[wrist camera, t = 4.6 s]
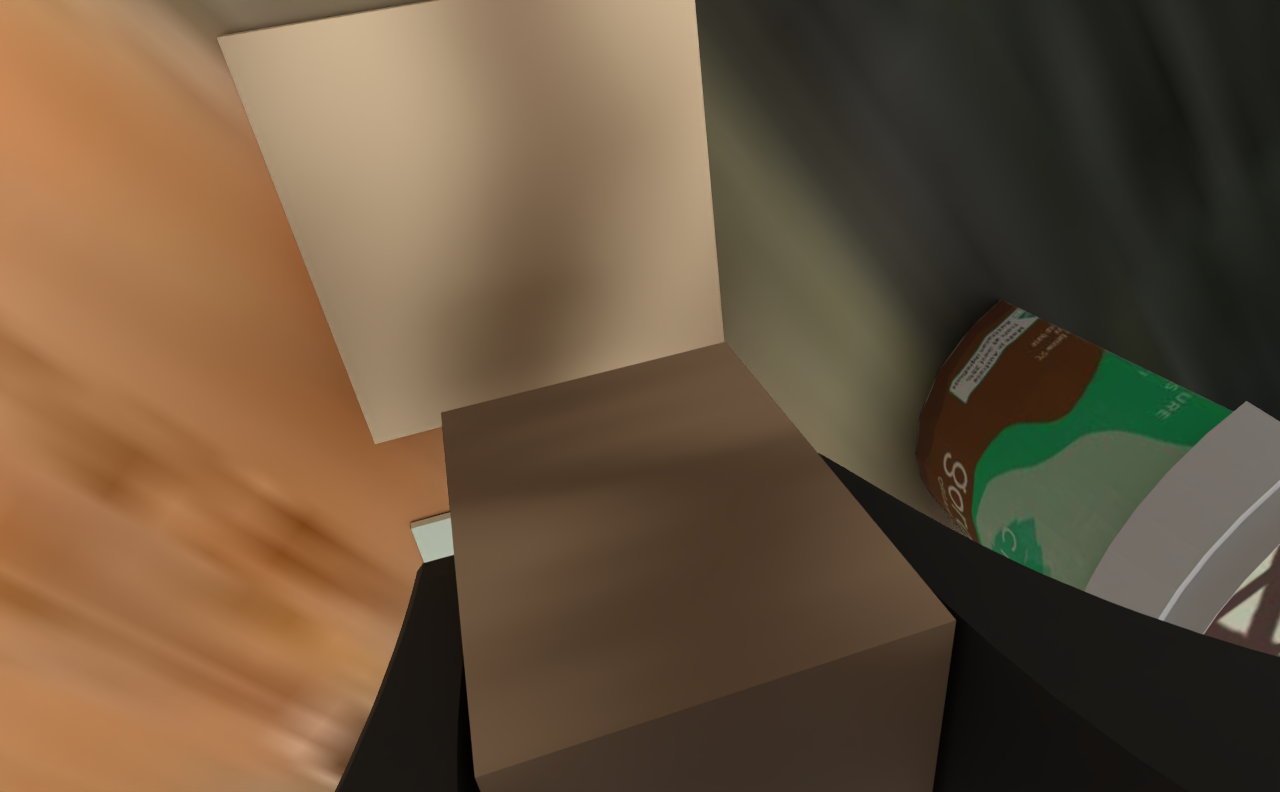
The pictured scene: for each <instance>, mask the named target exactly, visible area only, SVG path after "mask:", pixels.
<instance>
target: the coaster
mask: <svg viewBox="0 0 1280 792" xmlns="http://www.w3.org/2000/svg"><path fill="white" fill-rule="evenodd" d="M217 40H218V42H219V45H220V47H221V50H222V52H223V55H224V58H225V60H226V63H227V65H228V68H229V70H230V73H231V75H232V78H233V81H234V83H235V86H236V88H237V91H238V93H239V96H240V99H241V101H242V104H243V106H244V109H245V111H246V114H247V117H248V119H249V122H250V124H251V127H252V129H253V132H254V135H255V137H256V140H257V142H258V145H259V147H260V150H261V153H262V155H263V158H264V160H265V163H266V165H267V168H268V171H269V173H270V176H271V178H272V181H273V183H274V186H275V189H276V191H277V194H278V196H279V199H280V201H281V204H282V207H283V209H284V212H285V214H286V217H287V219H288V222H289V225H290V227H291V230H292V232H293V235H294V237H295V240H296V243H297V245H298V248H299V250H300V253H301V255H302V258H303V260H304V263H305V266H306V268H307V271H308V273H309V276H310V278H311V281H312V284H313V286H314V289H315V291H316V294H317V296H318V299H319V302H320V304H321V307H322V309H323V312H324V314H325V317H326V320H327V322H328V325H329V327H330V330H331V332H332V335H333V338H334V340H335V343H336V345H337V348H338V350H339V353H340V356H341V358H342V361H343V363H344V366H345V368H346V371H347V374H348V376H349V379H350V381H351V384H352V386H353V389H354V392H355V394H356V397H357V399H358V402H359V404H360V407H361V410H362V412H363V415H364V417H365V420H366V422H367V425H368V428H369V430H370V433H371V435H372V438H373V440H374V443H375V444H378V443H382V442H386V441H390V440H393V439H397V438H401V437H405V436H409V435H413V434H417V433H420V432H424V431H428V430H432V429H436V428H440V427H442V419H441V412H445V411H449V410H453V409H457V408H461V407H465V406H469V405H473V404H477V403H481V402H485V401H489V400H493V399H497V398H501V397H505V396H509V395H513V394H517V393H521V392H525V391H529V390H533V389H537V388H541V387H545V386H550V385H554V384H558V383H562V382H566V381H570V380H574V379H578V378H582V377H586V376H590V375H594V374H598V373H602V372H606V371H610V370H614V369H618V368H622V367H626V366H630V365H634V364H638V363H642V362H646V361H650V360H654V359H658V358H662V357H666V356H670V355H674V354H678V353H682V352H686V351H690V350H694V349H698V348H702V347H706V346H710V345H714V344H718V343H722V342H724V333H723V321H722V310H721V298H720V287H719V275H718V264H717V252H716V240H715V229H714V217H713V206H712V194H711V182H710V171H709V159H708V148H707V136H706V125H705V113H704V101H703V90H702V78H701V67H700V55H699V43H698V32H697V20H696V9H695V0H428V1H422V2H417V3H411V4H405V5H399V6H393V7H387V8H381V9H375V10H369V11H363V12H357V13H351V14H345V15H339V16H333V17H327V18H321V19H315V20H309V21H303V22H297V23H292V24H286V25H280V26H274V27H268V28H262V29H256V30H250V31H244V32H238V33H232V34H226V35H222V36H220V37H217Z"/></svg>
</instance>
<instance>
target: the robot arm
mask: <svg viewBox="0 0 1280 792" xmlns="http://www.w3.org/2000/svg"><path fill="white" fill-rule="evenodd" d="M818 454H819V453H818ZM819 455H820V457H821V458H822V459H823V460H824V461H825V463H826V464H827V465H828V466H829V467H830V469H831V470H832V471H833V472H834V474H835V475H836V476H837V477H838V478H839V480H840V481H841V482H842V483H843V484H844V486H845V487H846V488H847V489H848V490H849V492H850V493H851V494H852V495H853V496H854V498H855V499H856V500H857V501H858V502H859V504H860V505H861V506H862V507H863V508H864V510H865V511H866V512H867V513H868V514H869V516H870V517H871V518H872V519H873V521H874V522H875V523H876V524H877V525H878V527H879V528H880V529H881V530H882V531H883V533H884V534H885V535H886V536H887V537H888V539H889V540H890V541H891V542H892V543H893V545H894V546H895V547H896V548H897V549H898V551H899V552H900V553H901V554H902V555H903V557H904V558H905V559H906V560H907V561H908V563H909V564H910V565H911V566H912V568H913V569H914V570H915V571H916V572H917V574H918V575H919V576H920V577H921V578H922V580H923V581H924V582H925V583H926V584H927V586H928V587H929V588H930V589H931V590H932V592H933V593H934V594H935V595H936V596H937V598H938V599H939V600H940V601H941V602H942V604H943V605H944V606H945V607H946V608H947V610H948V611H949V612H950V613H951V615H952V616H953V617H954V618H955V619H956V625H955V632H954V639H953V646H952V654H951V661H950V668H949V675H948V682H947V690H946V697H945V704H944V711H943V718H942V726H941V733H940V740H939V747H938V755H937V762H936V769H935V776H934V783H933V791H932V792H1280V657H1278V656H1274V655H1271V654H1267V653H1264V652H1260V651H1256V650H1253V649H1249V648H1246V647H1243V646H1239V645H1236V644H1233V643H1230V642H1226V641H1223V640H1220V639H1216V638H1213V637H1210V636H1207V635H1204V634H1200V633H1197V632H1195V631H1192V630H1189V629H1186V628H1183V627H1180V626H1177V625H1174V624H1171V623H1168V622H1165V621H1162V620H1159V619H1156V618H1154V617H1151V616H1148V615H1145V614H1142V613H1139V612H1136V611H1134V610H1131V609H1128V608H1125V607H1123V606H1120V605H1117V604H1115V603H1112V602H1109V601H1107V600H1104V599H1102V598H1099V597H1097V596H1094V595H1092V594H1090V593H1087V592H1085V591H1082V590H1080V589H1077V588H1075V587H1073V586H1070V585H1068V584H1065V583H1063V582H1060V581H1058V580H1056V579H1053V578H1051V577H1048V576H1046V575H1044V574H1042V573H1039V572H1037V571H1035V570H1033V569H1031V568H1028V567H1026V566H1024V565H1022V564H1020V563H1018V562H1016V561H1013V560H1011V559H1009V558H1007V557H1005V556H1003V555H1001V554H999V553H997V552H995V551H993V550H991V549H989V548H987V547H985V546H983V545H981V544H979V543H977V542H975V541H973V540H971V539H969V538H967V537H965V536H963V535H961V534H959V533H957V532H956V531H954V530H952V529H950V528H948V527H946V526H944V525H942V524H941V523H939V522H937V521H935V520H933V519H931V518H930V517H928V516H926V515H924V514H922V513H921V512H919V511H917V510H915V509H914V508H912V507H910V506H908V505H907V504H905V503H903V502H901V501H900V500H898V499H896V498H894V497H893V496H891V495H889V494H888V493H886V492H884V491H882V490H881V489H879V488H877V487H876V486H874V485H872V484H871V483H869V482H867V481H866V480H864V479H862V478H860V477H859V476H857V475H855V474H854V473H852V472H850V471H849V470H847V469H845V468H844V467H842V466H840V465H839V464H837V463H835V462H833V461H832V460H830V459H828V458H827V457H825V456H823V455H821V454H819ZM335 792H481V791H480V789H479V787H478V784H477V782H476V780H475V775H474V764H473V753H472V742H471V732H470V721H469V710H468V699H467V688H466V678H465V667H464V656H463V645H462V635H461V624H460V613H459V602H458V591H457V581H456V570H455V559H454V555H451V556H447V557H444V558H440V559H436V560H433V561H429V562H426V563H423V564H422V566H421V567H420V569H419V570H418V571H417V575H416V579H415V583H414V587H413V591H412V595H411V598H410V602H409V605H408V609H407V612H406V615H405V618H404V622H403V625H402V628H401V631H400V634H399V637H398V640H397V643H396V646H395V649H394V652H393V654H392V657H391V660H390V662H389V665H388V668H387V670H386V673H385V676H384V679H383V681H382V684H381V687H380V689H379V692H378V695H377V697H376V700H375V702H374V705H373V707H372V710H371V712H370V714H369V717H368V719H367V721H366V724H365V726H364V728H363V730H362V733H361V735H360V737H359V740H358V742H357V744H356V746H355V749H354V751H353V753H352V756H351V758H350V760H349V762H348V765H347V767H346V769H345V771H344V773H343V776H342V778H341V780H340V782H339V784H338V786H337V788H336V790H335Z"/></svg>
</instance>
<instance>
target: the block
mask: <svg viewBox="0 0 1280 792" xmlns="http://www.w3.org/2000/svg"><path fill="white" fill-rule="evenodd" d="M441 419H442V430H443V441H444V451H445V462H446V473H447V484H448V494H449V505H450V516H451V527H452V538H453V548H454V559H455V570H456V581H457V591H458V602H459V613H460V624H461V635H462V645H463V656H464V667H465V678H466V688H467V699H468V710H469V721H470V732H471V742H472V753H473V764H474V775H475V780H476V782H477V784H478V787H479V789H480V791H481V792H932V791H933V783H934V776H935V769H936V762H937V755H938V747H939V740H940V733H941V726H942V718H943V711H944V704H945V697H946V690H947V682H948V675H949V668H950V661H951V654H952V646H953V639H954V632H955V625H956V619H955V618H954V617H953V616H952V615H951V613H950V612H949V611H948V610H947V608H946V607H945V606H944V605H943V604H942V602H941V601H940V600H939V599H938V598H937V596H936V595H935V594H934V593H933V592H932V590H931V589H930V588H929V587H928V586H927V584H926V583H925V582H924V581H923V580H922V578H921V577H920V576H919V575H918V574H917V572H916V571H915V570H914V569H913V568H912V566H911V565H910V564H909V563H908V561H907V560H906V559H905V558H904V557H903V555H902V554H901V553H900V552H899V551H898V549H897V548H896V547H895V546H894V545H893V543H892V542H891V541H890V540H889V539H888V537H887V536H886V535H885V534H884V533H883V531H882V530H881V529H880V528H879V527H878V525H877V524H876V523H875V522H874V521H873V519H872V518H871V517H870V516H869V514H868V513H867V512H866V511H865V510H864V508H863V507H862V506H861V505H860V504H859V502H858V501H857V500H856V499H855V498H854V496H853V495H852V494H851V493H850V492H849V490H848V489H847V488H846V487H845V486H844V484H843V483H842V482H841V481H840V480H839V478H838V477H837V476H836V475H835V474H834V472H833V471H832V470H831V469H830V467H829V466H828V465H827V464H826V463H825V461H824V460H823V459H822V458H821V457H820V455H819V454H818V453H817V452H816V451H815V449H814V448H813V447H812V446H811V445H810V443H809V442H808V441H807V440H806V439H805V437H804V436H803V435H802V434H801V433H800V431H799V430H798V429H797V428H796V427H795V425H794V424H793V423H792V422H791V420H790V419H789V418H788V417H787V416H786V414H785V413H784V412H783V411H782V410H781V408H780V407H779V406H778V405H777V404H776V402H775V401H774V400H773V399H772V398H771V396H770V395H769V394H768V393H767V392H766V390H765V389H764V388H763V387H762V386H761V384H760V383H759V382H758V381H757V380H756V378H755V377H754V376H753V375H752V373H751V372H750V371H749V370H748V369H747V367H746V366H745V365H744V364H743V363H742V361H741V360H740V359H739V358H738V357H737V355H736V354H735V353H734V352H733V351H732V349H731V348H730V347H729V346H728V345H727V343H726V342H722V343H718V344H714V345H710V346H706V347H702V348H698V349H694V350H690V351H686V352H682V353H678V354H674V355H670V356H666V357H662V358H658V359H654V360H650V361H646V362H642V363H638V364H634V365H630V366H626V367H622V368H618V369H614V370H610V371H606V372H602V373H598V374H594V375H590V376H586V377H582V378H578V379H574V380H570V381H566V382H562V383H558V384H554V385H550V386H545V387H541V388H537V389H533V390H529V391H525V392H521V393H517V394H513V395H509V396H505V397H501V398H497V399H493V400H489V401H485V402H481V403H477V404H473V405H469V406H465V407H461V408H457V409H453V410H449V411H445V412H441Z"/></svg>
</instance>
